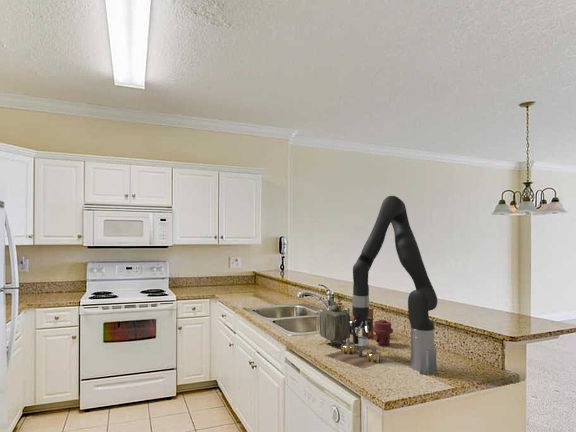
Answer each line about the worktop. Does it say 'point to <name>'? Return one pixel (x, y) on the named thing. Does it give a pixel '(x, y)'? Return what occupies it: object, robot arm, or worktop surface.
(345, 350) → the gear
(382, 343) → the mechanical component
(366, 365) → the gear board
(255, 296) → the worktop surface
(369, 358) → the gear
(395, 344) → the worktop surface
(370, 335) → the baking soda box
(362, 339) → the steel gear
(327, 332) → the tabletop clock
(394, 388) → the worktop surface
